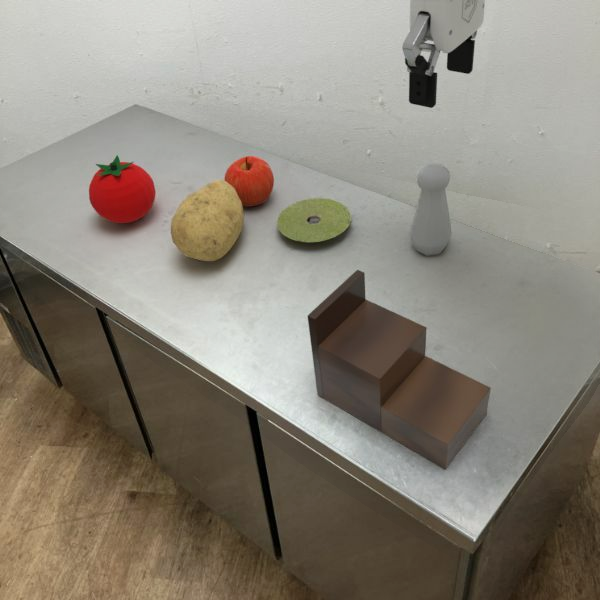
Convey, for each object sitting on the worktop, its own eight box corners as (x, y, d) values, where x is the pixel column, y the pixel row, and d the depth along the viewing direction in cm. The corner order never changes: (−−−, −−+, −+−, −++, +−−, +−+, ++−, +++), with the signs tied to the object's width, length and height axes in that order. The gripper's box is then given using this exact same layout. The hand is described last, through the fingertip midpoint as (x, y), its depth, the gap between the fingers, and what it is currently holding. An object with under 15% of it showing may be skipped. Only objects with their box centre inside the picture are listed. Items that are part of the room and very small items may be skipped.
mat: (363, 216, 100) (363, 206, 99) (331, 259, 94) (330, 248, 92) (300, 202, 105) (299, 191, 104) (265, 241, 98) (263, 231, 97)
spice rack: (486, 413, 71) (499, 331, 63) (445, 469, 67) (453, 389, 58) (361, 349, 80) (357, 269, 71) (317, 395, 76) (307, 315, 67)
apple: (276, 184, 110) (270, 141, 104) (276, 211, 104) (270, 168, 98) (230, 188, 110) (221, 146, 105) (227, 216, 104) (218, 173, 99)
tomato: (152, 191, 112) (136, 139, 105) (169, 221, 105) (154, 168, 98) (92, 211, 109) (73, 159, 102) (106, 243, 102) (86, 189, 95)
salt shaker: (457, 241, 94) (463, 162, 85) (440, 263, 91) (446, 184, 82) (419, 230, 97) (422, 153, 88) (402, 252, 93) (403, 174, 84)
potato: (160, 262, 97) (144, 209, 91) (224, 212, 105) (213, 161, 99) (209, 284, 92) (195, 231, 86) (272, 231, 100) (264, 178, 94)
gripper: (444, -45, 60) (436, 125, 71) (518, -92, 69) (500, 64, 81) (374, -51, 63) (377, 112, 75) (453, -95, 73) (445, 55, 84)
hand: (441, 87), depth 78 cm, fingers open, 9 cm apart
